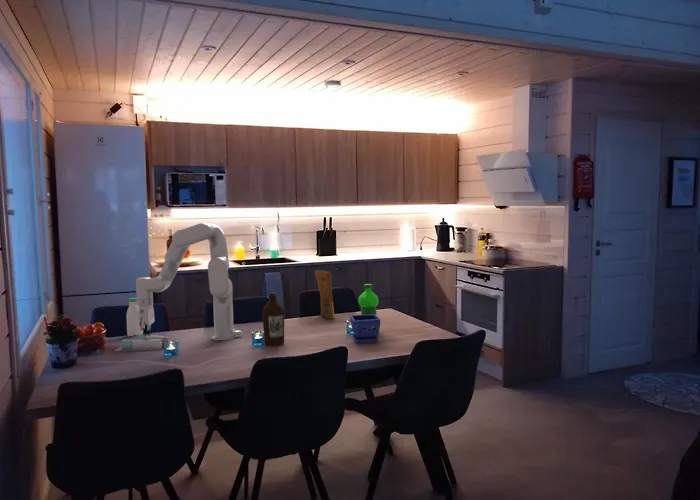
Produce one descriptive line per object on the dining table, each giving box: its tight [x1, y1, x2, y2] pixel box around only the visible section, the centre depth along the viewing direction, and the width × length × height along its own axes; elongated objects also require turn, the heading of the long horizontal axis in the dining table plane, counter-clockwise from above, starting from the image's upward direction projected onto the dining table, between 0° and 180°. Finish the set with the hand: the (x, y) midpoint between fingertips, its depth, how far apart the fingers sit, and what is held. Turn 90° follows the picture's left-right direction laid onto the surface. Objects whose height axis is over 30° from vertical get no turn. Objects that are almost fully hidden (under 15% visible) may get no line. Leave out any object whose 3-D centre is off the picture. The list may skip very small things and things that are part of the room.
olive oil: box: [261, 291, 285, 347], centre depth 265 cm, size 11×11×25 cm
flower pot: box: [349, 314, 381, 345], centre depth 266 cm, size 13×13×12 cm
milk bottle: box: [126, 297, 143, 337], centre depth 292 cm, size 8×8×20 cm
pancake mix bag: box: [314, 269, 335, 320], centre depth 329 cm, size 7×19×28 cm, turn 25°
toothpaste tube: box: [137, 333, 170, 346], centre depth 268 cm, size 19×3×4 cm, turn 64°
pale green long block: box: [120, 336, 169, 350], centre depth 260 cm, size 21×4×5 cm, turn 92°
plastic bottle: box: [357, 283, 379, 328], centre depth 285 cm, size 10×10×25 cm
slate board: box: [114, 338, 182, 352], centre depth 267 cm, size 26×20×1 cm
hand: (147, 338), depth 276 cm, fingers closed
